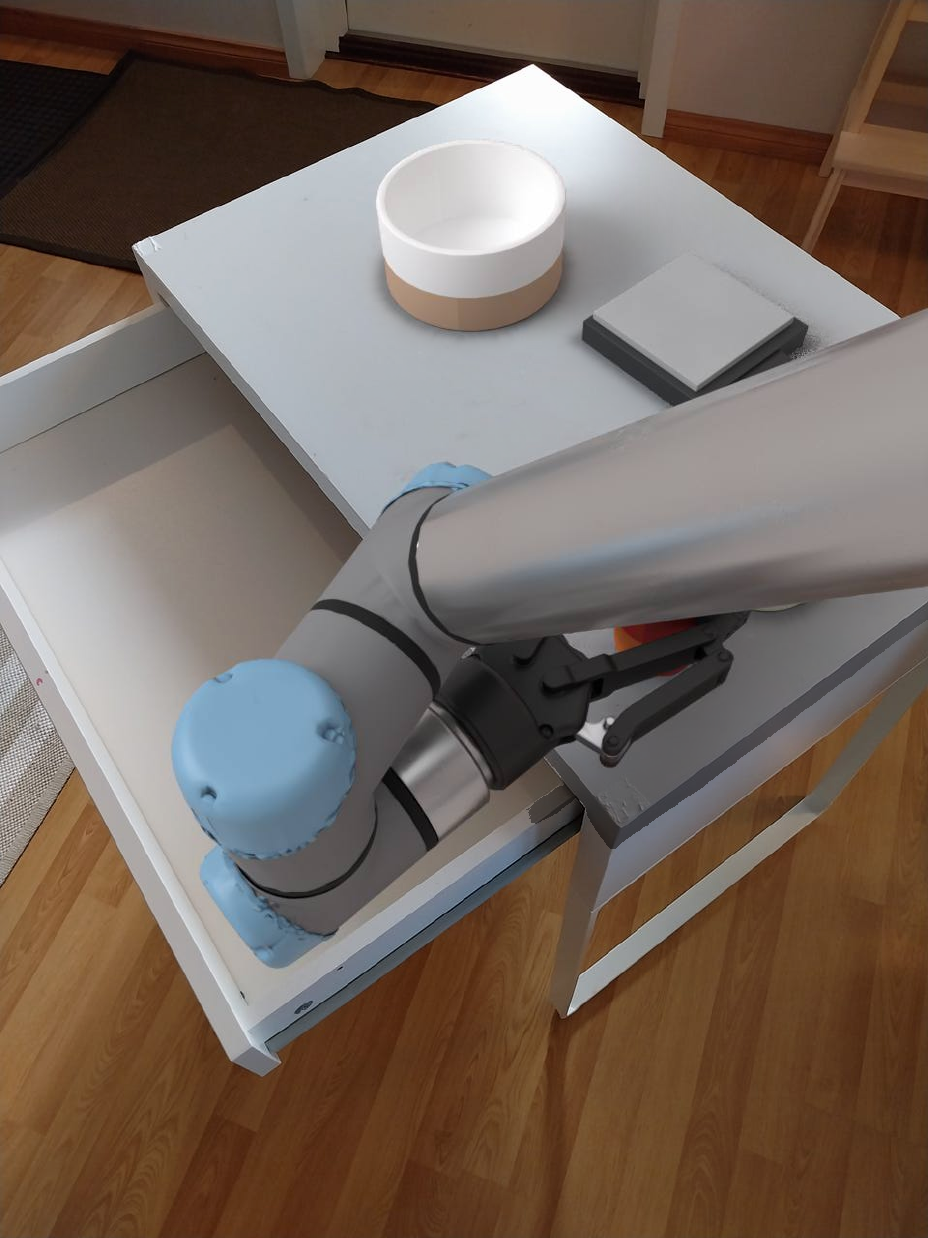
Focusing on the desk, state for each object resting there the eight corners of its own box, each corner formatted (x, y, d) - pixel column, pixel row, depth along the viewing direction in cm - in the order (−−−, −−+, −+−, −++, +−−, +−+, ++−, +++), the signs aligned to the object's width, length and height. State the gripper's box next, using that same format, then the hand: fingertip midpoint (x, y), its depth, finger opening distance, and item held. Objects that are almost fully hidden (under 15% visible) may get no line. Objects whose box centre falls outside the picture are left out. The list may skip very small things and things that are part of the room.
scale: (818, 355, 83) (828, 328, 81) (711, 434, 79) (718, 409, 76) (686, 270, 90) (691, 243, 88) (581, 339, 86) (583, 313, 83)
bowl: (427, 354, 86) (419, 278, 78) (360, 247, 94) (348, 169, 87) (594, 296, 89) (601, 218, 82) (514, 197, 97) (514, 119, 90)
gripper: (361, 663, 62) (610, 481, 69) (572, 894, 53) (832, 658, 60) (343, 602, 55) (620, 408, 62) (579, 852, 47) (869, 594, 54)
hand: (723, 531), depth 61 cm, fingers closed on coffee cup, 7 cm apart
